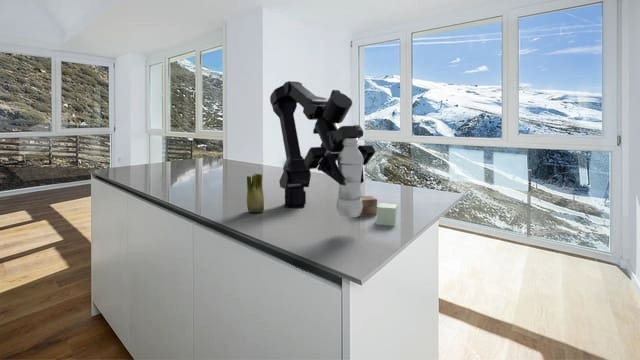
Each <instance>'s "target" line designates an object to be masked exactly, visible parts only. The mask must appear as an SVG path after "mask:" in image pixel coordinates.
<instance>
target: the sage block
mask: <svg viewBox="0 0 640 360" xmlns="http://www.w3.org/2000/svg"><path fill="white" fill-rule="evenodd" d="M397 214H398V203H383V202H379V203H378V204H377V215H376V222H375V223H376V225H381V226H390V227H392V226H393V227H395V226H396V224H397V219H398V218H397Z"/></svg>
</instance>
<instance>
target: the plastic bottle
mask: <svg viewBox="0 0 640 360" xmlns="http://www.w3.org/2000/svg"><path fill="white" fill-rule="evenodd" d="M343 146H344V148H343V149H342V151H341V152H340V154H339V155H338V158H337V161H336V164H337V166H338V169H339V171H340V173H341V175H342V178H343V181H344V184H343V185H340V184H339V183H338V185H339V186H338V196H337V201H336V212H337V214H338V215H339V216H340V217H343V218H357V217H359V216H360V214H361V213H362V208H363V206H362V199H361V196H362V190H361V187H362V186H361V185H362V183H361V174H362V168H363V169H364V165H363V162H364V159H363V155H362V154H361V152H360V151H359V149H358V146H359V139H358V138H345V139H343Z"/></svg>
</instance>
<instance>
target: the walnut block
mask: <svg viewBox="0 0 640 360" xmlns="http://www.w3.org/2000/svg"><path fill="white" fill-rule="evenodd" d="M361 199H362V206H363V208H362V213H361V214H360V215H359V216H361V217H365V216H366V217H369V216H370V215H371V216H377V206H378V199H377V198H375V197H374V196H372V195H361Z"/></svg>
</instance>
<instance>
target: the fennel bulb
mask: <svg viewBox="0 0 640 360" xmlns="http://www.w3.org/2000/svg"><path fill="white" fill-rule="evenodd" d="M246 186H247V189H246V190H247V191H246V192H247V193H246V207H247V211H248V213H253V214H257V213H262V212H263V211H264V210H265V207H264V206H265V196H264V191H263V174H261V173H254V174H252V176H251V175H247V176H246Z"/></svg>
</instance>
